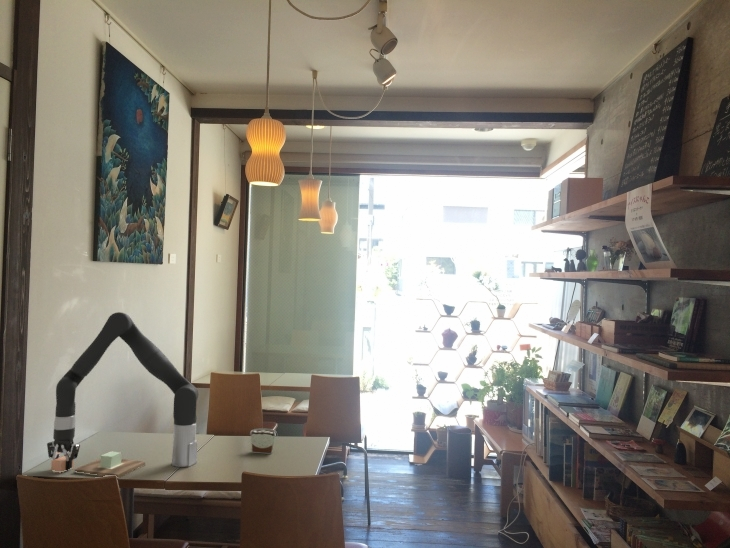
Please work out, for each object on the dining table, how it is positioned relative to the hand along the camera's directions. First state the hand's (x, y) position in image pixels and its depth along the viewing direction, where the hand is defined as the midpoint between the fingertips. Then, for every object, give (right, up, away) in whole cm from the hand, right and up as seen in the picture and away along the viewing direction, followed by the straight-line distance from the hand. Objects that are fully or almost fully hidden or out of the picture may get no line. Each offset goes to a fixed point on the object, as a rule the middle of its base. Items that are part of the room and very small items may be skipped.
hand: (62, 468), depth 214 cm
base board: (+18, -1, +3) cm, 18 cm away
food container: (+75, -5, +35) cm, 83 cm away
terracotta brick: (0, -1, 0) cm, 1 cm away
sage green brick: (+18, 0, +3) cm, 18 cm away
